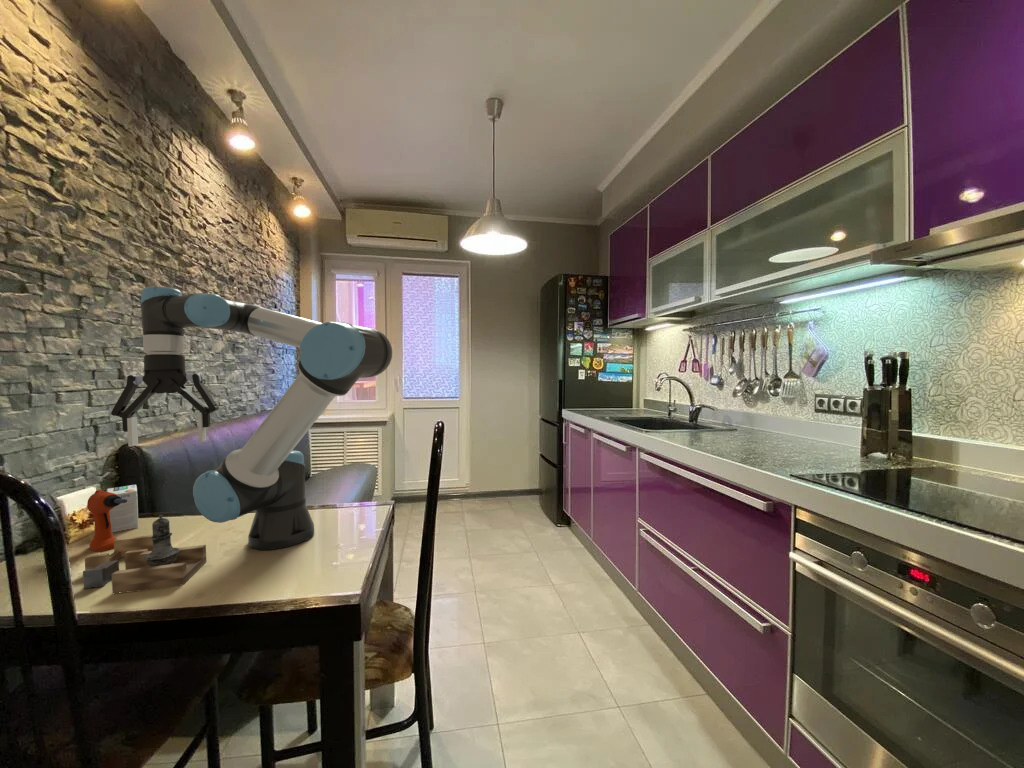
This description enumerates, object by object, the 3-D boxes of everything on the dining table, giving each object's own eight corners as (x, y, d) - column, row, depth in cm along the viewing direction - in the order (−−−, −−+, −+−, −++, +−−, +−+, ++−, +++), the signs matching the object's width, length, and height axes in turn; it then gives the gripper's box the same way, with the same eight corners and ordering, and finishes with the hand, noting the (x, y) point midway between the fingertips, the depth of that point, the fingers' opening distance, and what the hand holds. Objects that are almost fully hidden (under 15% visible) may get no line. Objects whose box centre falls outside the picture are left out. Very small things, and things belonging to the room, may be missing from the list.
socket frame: (170, 549, 106) (170, 533, 105) (145, 568, 95) (144, 550, 95) (117, 555, 103) (116, 538, 102) (85, 575, 92) (84, 557, 92)
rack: (206, 561, 98) (205, 544, 97) (183, 584, 87) (182, 565, 87) (144, 569, 94) (143, 551, 94) (112, 594, 84) (111, 574, 84)
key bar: (121, 573, 93) (120, 557, 93) (102, 586, 87) (102, 569, 87) (103, 575, 92) (102, 559, 92) (83, 588, 86) (82, 571, 86)
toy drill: (117, 555, 99) (110, 491, 99) (86, 551, 108) (79, 492, 108) (143, 547, 103) (136, 486, 104) (111, 544, 112) (104, 487, 112)
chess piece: (140, 579, 87) (138, 521, 86) (149, 567, 92) (147, 512, 92) (176, 572, 89) (174, 516, 89) (183, 561, 95) (180, 508, 94)
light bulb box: (107, 524, 125) (106, 488, 125) (138, 518, 129) (136, 483, 129) (106, 534, 117) (104, 495, 117) (139, 527, 122) (137, 490, 121)
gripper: (230, 354, 108) (234, 437, 108) (107, 355, 100) (111, 444, 100) (221, 352, 101) (225, 441, 101) (87, 353, 92) (92, 450, 93)
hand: (168, 443), depth 101 cm, fingers open, 13 cm apart
